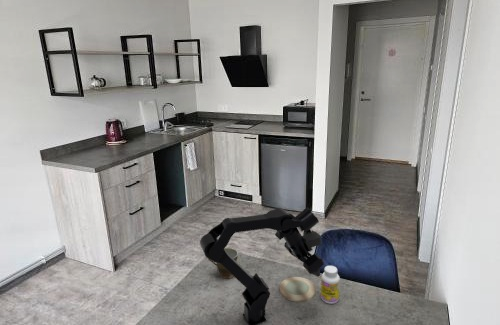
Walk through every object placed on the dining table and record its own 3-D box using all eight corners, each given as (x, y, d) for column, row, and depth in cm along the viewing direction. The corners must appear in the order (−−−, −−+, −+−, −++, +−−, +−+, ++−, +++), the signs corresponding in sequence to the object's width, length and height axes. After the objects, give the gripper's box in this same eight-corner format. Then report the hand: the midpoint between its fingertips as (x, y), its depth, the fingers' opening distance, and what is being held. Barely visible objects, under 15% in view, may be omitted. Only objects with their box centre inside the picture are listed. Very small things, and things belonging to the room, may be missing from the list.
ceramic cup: (240, 268, 147) (239, 248, 144) (237, 281, 137) (236, 260, 135) (211, 267, 148) (210, 247, 146) (206, 280, 139) (205, 259, 136)
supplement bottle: (318, 301, 124) (319, 271, 121) (323, 291, 130) (324, 262, 126) (336, 306, 121) (337, 276, 118) (340, 295, 127) (341, 266, 123)
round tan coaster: (292, 306, 122) (292, 303, 121) (273, 285, 134) (273, 282, 134) (322, 294, 128) (322, 291, 127) (302, 275, 140) (302, 273, 139)
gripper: (327, 237, 108) (344, 268, 114) (299, 215, 124) (315, 244, 130) (300, 258, 106) (319, 289, 112) (275, 233, 123) (293, 261, 129)
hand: (312, 269), depth 121 cm, fingers open, 9 cm apart
